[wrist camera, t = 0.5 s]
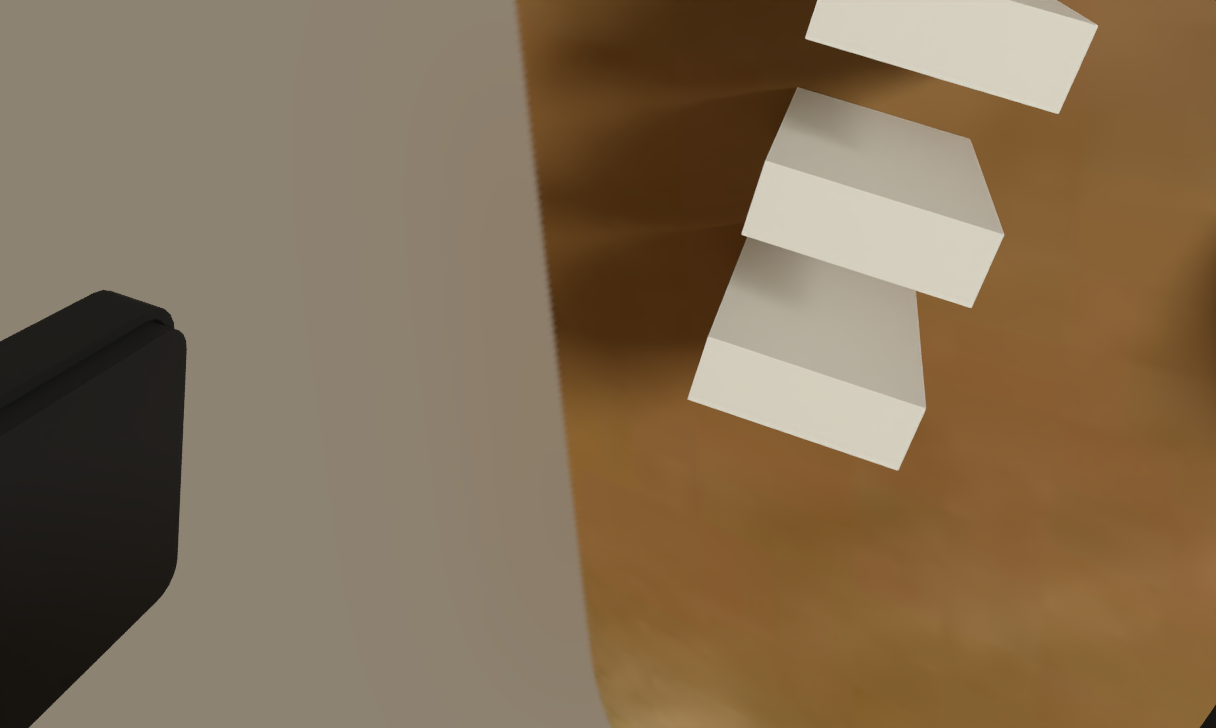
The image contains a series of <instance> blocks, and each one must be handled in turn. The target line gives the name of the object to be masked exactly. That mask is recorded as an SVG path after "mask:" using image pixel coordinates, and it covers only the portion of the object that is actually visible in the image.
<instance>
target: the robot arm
mask: <svg viewBox="0 0 1216 728" xmlns="http://www.w3.org/2000/svg"><path fill="white" fill-rule="evenodd" d="M186 351H187V350H186V340H185V337H184V335H183V334H182V333H181V332H180V331H179V330H176V329H174V322H173V320H172V318H171V315H170V314H169V313H168V312H167V311H166V310H165V309H163V308H160V307H157V306H154V305H151V304H148V303H145V302H142V301H139V300H136V299H133V298H130V297H127V296H124V295H121V294H118V293H115V292H112V291H106V290H102V291H99V292H96V293H93V294H91V295H89V296H87V297H85V298H84V299H81V300H79V301H77V302H75V303H73V304H72V305H70V306H68V307H66V308H64V309H62V310H60V311H58V312H56V313H54V314H52V315H50V316H49V317H47V318H45V319H43V320H41V321H39V322H37V323H35V324H33V325H31V326H29V327H27V328H25V329H24V330H21V331H20V332H18V333H16V334H14V335H12V336H10V337H8V338H6V339H4V340H2V341H0V728H29V727H30V726H31V725H32V724H33V723H34V722H35V721H36V720H37V719H38V718H39V717H40V716H41V715H42V714H43V713H44V712H45V711H46V710H47V709H48V708H49V707H50V706H51V705H52V704H53V703H54V702H55V701H56V700H57V699H58V698H59V697H60V696H61V695H62V694H63V693H64V692H65V691H66V690H67V689H68V688H69V687H70V686H71V685H72V684H73V683H74V682H75V681H76V680H77V679H78V678H79V677H80V676H81V675H83V674H84V673H85V671H87V670H88V669H89V667H91V666H92V665H93V663H95V662H96V661H97V660H98V659H99V658H100V657H101V656H102V655H103V654H104V653H105V652H106V651H107V650H108V649H109V648H110V647H111V646H112V645H113V644H114V643H115V642H116V641H117V640H118V639H119V638H120V637H121V636H122V635H123V634H124V633H125V632H126V631H127V630H128V629H129V628H130V627H131V626H132V625H133V624H134V623H135V622H136V621H137V620H138V619H139V618H140V617H141V616H142V615H143V614H144V613H145V612H146V611H147V610H148V609H149V608H150V607H151V606H152V605H153V604H155V603H156V602H157V600H158V599H159V598H160V597H161V596H162V595H163V593H164V592H165V590H166V589H167V587H168V586H169V584H170V581H171V579H172V577H173V575H174V572H175V568H176V564H177V555H178V553H177V552H178V532H179V509H180V487H181V486H180V485H181V464H182V441H183V419H184V397H185V372H186ZM1200 728H1216V705H1215V707H1214V708H1213V710H1212V711H1211V713H1210V714H1209V715H1208V717H1207V718H1206V720H1205V721H1204V723H1203V724H1202V725H1201V727H1200Z"/></svg>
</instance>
